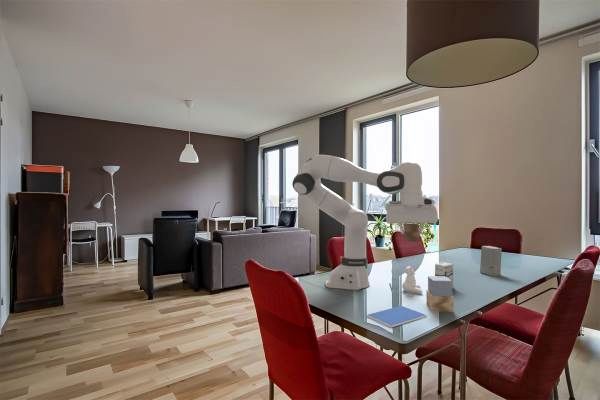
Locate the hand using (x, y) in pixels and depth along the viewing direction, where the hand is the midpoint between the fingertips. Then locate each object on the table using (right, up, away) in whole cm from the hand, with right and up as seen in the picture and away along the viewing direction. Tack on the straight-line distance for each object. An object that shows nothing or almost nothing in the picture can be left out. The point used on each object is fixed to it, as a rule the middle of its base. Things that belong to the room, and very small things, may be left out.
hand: (411, 234), depth 127 cm
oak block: (+9, -29, -5) cm, 31 cm away
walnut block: (0, -3, 0) cm, 3 cm away
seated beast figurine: (+7, -29, +18) cm, 35 cm away
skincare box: (+64, -29, +49) cm, 85 cm away
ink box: (+24, -29, +23) cm, 45 cm away
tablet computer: (-10, -30, -13) cm, 34 cm away
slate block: (+9, -23, -5) cm, 26 cm away
